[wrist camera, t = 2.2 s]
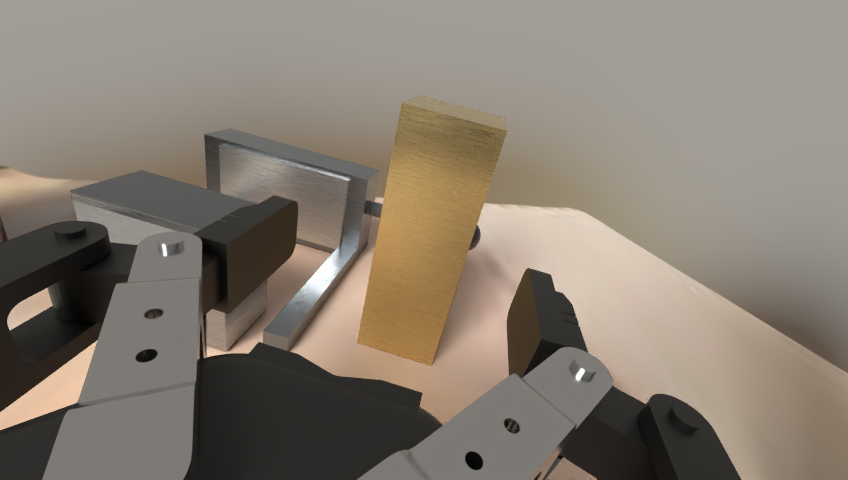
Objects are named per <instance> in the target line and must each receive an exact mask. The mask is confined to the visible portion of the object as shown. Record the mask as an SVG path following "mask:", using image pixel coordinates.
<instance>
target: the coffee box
mask: <svg viewBox="0 0 848 480" xmlns="http://www.w3.org/2000/svg"><path fill="white" fill-rule="evenodd" d="M6 241H8V239H7V236H6V233H5V230H4V227H3V224H2V220H1V217H0V244H1V243H3V242H6Z"/></svg>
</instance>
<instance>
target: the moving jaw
mask: <svg viewBox="0 0 848 480" xmlns="http://www.w3.org/2000/svg"><path fill="white" fill-rule="evenodd" d="M70 192H71V196H72V200H73V205H74V209H75V213H76V217H77V221H90V222H95V223H99V224H102V225H104V226H105V227H106V228H107V229H108V234H109V239H110V242H112V243H122V244H133V245H138V244H139V242H140V241H141V240H143V239H144V238H146V237H148V236H151V235H154V234H158V233H163V232H185V233H190V234H193V233H195V232H197V231H199V230H201V229H202V228H204V227H206V226H208V225H210V224H212V223H213V222H215V221H217V220H220V219H221V218H223V217H224V216H226V215H229V214H230V213H232V212H234V211H235V210H237V209H239V208H241V207H246V206H250V205H254V204H256V203H253V202H249V201H246V200H243V199H239V198H236V197H232V196H229V195H225V194H222V193H218V192H215V191H212V190H208V189H205V188H201V187H198V186H194V185H191V184H187V183H184V182H180V181H177V180H173V179H170V178H167V177H163V176H160V175H156V174H152V173H149V172H146V171H142V170H141V171H138V172H134V173H130V174H127V175H123V176H120V177H116V178H113V179H109V180H106V181H102V182H99V183H95V184H92V185H88V186H84V187H81V188H77V189H74V190H70ZM266 296H267V279H266V280H265V281H264V282H263V283H262V284H261V285H260V286H259V287H257V288H256V289H255V290H254V291H253V292H252V293H251V294H250V295H249V296H248V297H247V298H245V299H244V300H243V301H242V302H241V303H240V304H239V305H238V306H237V307H236V308H235V309H234V310H232V311H231V312H230V313H229V314H226V313H223V312H220V311H217V310H214V309H211V310H210V311H209V312H208V313H207V345H208V346H211V347H214V348H218V349H221V350H224V351H227V350H228V349H229V348H230V347H231V346H232V345H233V344H234V343H235V342H236V341H237V339H238V338H239V337H240V336H241V335H242V334H243V333H244V332H245V331H246V330H247V329H248V328H249V327H250V326H251V325H252V324H253V323H254V322H255V321H256V320H257V319H258V318H259V316H260V315H261V314H262V313H263V312H264V311H265V310H266Z"/></svg>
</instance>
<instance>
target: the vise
mask: <svg viewBox="0 0 848 480" xmlns="http://www.w3.org/2000/svg"><path fill="white" fill-rule="evenodd" d="M204 135H205V136H204V137H205V157H206V176H207V189H208V190H212V191H215V192H218V193H222V194H225V195H229V196H232V197H236V198H239V199H243V200H246V201H249V202H253V203H256V204H259V203H261V202H263V201H264V200H266V199H268V198H270V197H271V196H273V195H276V196H280V197H283V198H287V199H290V200H294V201H296V202H297V203H298V222H297V236H296V243H299V244H302V245H306V246H309V247H312V248H316V249H319V250H323V251H326V252H329V253H332V254H331V255H330V257H329V258H328V259H327V260H326V261H325V262H324V263H323V264H322V266H321V267H320V268H319V269H318V270H317V271H316V272H315V273H314V275H313V276H312V277H311V278H310V279H309V280H308V281H307V282H306V284H305V285H304V286H303V287H302V288H301V289H300V290H299V291H298V292H297V294H296V295H295V296H294V297H293V298H292V299H291V300H290V301H289V303H288V304H287V305H286V306H285V307H284V308H283V309H282V310H281V312H280V313H279V314H278V315H277V316H276V317H275V318H274V319H273V321H272V322H271V323H270V324H269V325H268V326H267V327H266V328H265V330H264V331H263V343H264V344H267V345H270V346H273V347H276V348H280V349H283V350H286V351H289V350H290V348H291V347H292V345H293V344H294V343H295V341H296V340H297V339H298V337H299V336H300V335H301V333H302V332H303V331H304V329H305V328H306V327H307V325H308V324H309V322H310V321H311V320H312V318H313V317H314V316H315V314H316V313H317V312H318V310H319V309H320V308H321V306H322V305H323V303H324V302H325V301H326V299H327V298H328V297H329V295H330V294H331V293H332V291H333V290H334V289H335V287H336V286H337V284H338V283H339V282H340V280H341V279H342V278H343V276H344V275H345V274H346V272H347V271H348V270H349V268H350V267H351V265H352V264H353V263H354V261H355V260H356V259H357V257H358V256H359V255H360V253H361V252H362V251H363V249H364V248H365V246H366V245H367V241H368V235H369V230H370V224H371V218H372V216H374V217H378V218H380V217H381V212H382V206H383V204H379V203H376V202H374V201H375V195H376V188H377V184H378V178H379V171H380V170H377V169H374V168H370V167H367V166H363V165H360V164H356V163H352V162H349V161H345V160H342V159H338V158H334V157H331V156H327V155H324V154H320V153H316V152H313V151H309V150H306V149H302V148H298V147H295V146H291V145H288V144H284V143H280V142H277V141H273V140H270V139H266V138H262V137H259V136H255V135H252V134H248V133H244V132H241V131H237V130H233V129H226V130H221V131H217V132H212V133H208V134H204ZM480 236H481V235H480V229H479V227H478V225H477V226H476V229H475V232H474V235H473V238H472V241H471V244H470V247H469V250H471V249H473V248H474V247H476V245H477V244H478V243H479V240H480Z"/></svg>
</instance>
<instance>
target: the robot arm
mask: <svg viewBox="0 0 848 480" xmlns="http://www.w3.org/2000/svg"><path fill="white" fill-rule="evenodd" d="M297 222H298V203H297V202H296V201H294V200H290V199H287V198H283V197H280V196H276V195H273V196H271V197H270V198H268V199H266V200H264V201H263V202H261V203H259V204H254V205H250V206H246V207H241V208H239V209H237V210H235V211H234V212H232V213H230V214H229V215H226V216H224V217H223V218H221V219H220V220H217V221H215V222H213V223H212V224H210V225H208V226H206V227H204V228H202V229H201V230H199V231H197V232H195V233H193V234H190V233H185V232H163V233H158V234H154V235H151V236H148V237H146V238H144V239H143V240H141V241H140V242H139V244H138V245H133V244H122V243H112V242H110V239H109V234H108V229H107V228H106V227H105V226H104V225H102V224H99V223H95V222H90V221H68V222H60V223H55V224H51V225H48V226H45V227H42V228H40V229H37V230H34V231H32V232H29V233H27V234H24V235H21V236H19V237H16V238H14V239H11V240H8V241H6V242H3V243H1V244H0V412H1V411H2V410H4V409H5V408H6V407H8V406H9V405H10V404H12V403H13V402H14V401H16V400H17V399H18V398H20V397H21V396H23V395H24V394H25V393H27V392H28V391H29V390H31V389H32V388H33V387H35V386H36V385H37V384H39V383H40V382H41V381H43V380H44V379H45V378H47V377H48V376H49V375H51V374H52V373H54V372H55V371H56V370H58V369H59V368H60V367H62V366H63V365H64V364H66V363H67V362H68V361H70V360H71V359H72V358H74V357H75V356H76V355H78V354H79V353H80V352H82V351H83V350H85V349H86V348H87V347H89V346H90V345H91V344H93V343H94V342H95V341H97V340H98V341H97V344H96V347H95V351H94V354H93V357H92V360H91V363H90V366H89V369H88V372H87V376H86V379H85V382H84V385H83V388H82V391H81V394H80V397H79V400H78V402H77V403H76V404H73V405H70V406H67V407H65V408H62V409H59V410H56V411H53V412H51V413H48V414H45V415H42V416H39V417H37V418H34V419H31V420H28V421H25V422H23V423H20V424H17V425H14V426H12V427H9V428H6V429H3V430H0V480H547V479H548V478H549V477H550V476H551V474H552V473H553V472H554V471H555V469H556V468H557V467H558V466H559V464H560V463H561V462H562V461H563V459H564V458H566V459H567V460H569V461H570V462H572V463H574V464H575V465H577V466H578V467H580V468H581V469H583V470H585V471H586V472H588V473H589V474H591V475H593V476H594V477H596V478H597V480H741V478H740V476H739V475H738V473H737V471H736V469H735V467H734V466H733V464H732V462H731V460H730V458H729V456H728V455H727V453H726V451H725V449H724V447H723V445H722V444H721V442H720V440H719V438H718V436H717V435H716V433H715V431H714V429H713V428H712V426H711V425H710V424H709V422H708V421H707V420H706V419H705V418H704V417H703V416H702V415H701V414H700V413H699V412H697V411H696V410H695V409H694V408H692V407H691V406H689V405H688V404H686V403H685V402H683V401H681V400H679V399H677V398H675V397H672V396H669V395H665V394H655V395H653V396H652V397H651V398H650V399H649V401H648V402H647V403H646V404H644V403H643V402H641V401H639V400H637V399H635V398H633V397H631V396H629V395H627V394H626V393H624V392H622V391H620V390H618V389H617V388H615V387H614V386H612V384H613V381H612V377H611V374H610V372H609V371H608V369H607V368H606V367H605V366H604V365H603V364H602V363H601V362H600V361H599V360H598V359H597V358H595V357H594V356H592V355H591V354H589V353H588V351H587V348H586V345H585V342H584V339H583V336H582V333H581V330H580V327H579V326H578V325H579V324H578V321H577V318H576V317H575V316H576V315H575V311H574V308H573V305H572V304H571V302H570V301H569V300H568V299H567V298H566V296H565V295H564V294H563V293H560V292H557V291H555V288H554V284H553V281H552V277H551V275H550V274H547V273H543V272H540V271H536V270H533V269H529V268H528V269H526V271H525V273H524V275H523V277H522V279H521V282H520V284H519V287H518V289H517V291H516V294H515V296H514V299H513V301H512V303H511V306H510V309H509V312H508V317H507V339H508V361H509V377H507V378H506V379H505V380H503V381H502V382H501V383H499V384H498V385H497V386H495V387H494V388H493V389H491V390H490V391H489V392H487V393H486V394H485V395H483V396H482V397H480V398H479V399H478V400H476V401H475V402H474V403H472V404H471V405H470V406H468V407H467V408H466V409H464V410H463V411H462V412H460V413H459V414H458V415H456V416H455V417H454V418H452V419H451V420H450V421H448V422H447V423H446V424H444V425H442V424H441V423H440V422H439V421H438V420H437V419H436V418H435V417H434V416H432V415H431V414H430V413H428V412H427V411H425V410H424V409H422V408H421V407H419V406H420V401H421V397H422V393H421V392H417V391H414V390H411V389H408V388H405V387H401V386H398V385H395V384H392V383H389V382H385V381H382V380H373V379H362V378H351V377H340V376H335V375H333V374H331V373H329V372H327V371H326V370H324V369H322V368H320V367H319V366H317V365H315V364H314V363H312V362H310V361H309V360H307V359H305V358H304V357H302V356H300V355H299V354H296V353H292V352H289V351H286V350H283V349H280V348H276V347H273V346H270V345H267V344H264V343H260V342H258V344H257V345H256V346H255V347H254V348H253V349H252V351H251V352H250V353H249V354H244V353H241V354H223V355H217V356H211V357H207V313H208V312H209V311H210V310H211V309H214V310H217V311H220V312H223V313H226V314H229V313H230V312H231V311H232V310H234V309H235V308H236V307H237V306H238V305H239V304H240V303H241V302H242V301H243V300H244V299H245V298H247V297H248V296H249V295H250V294H251V293H252V292H253V291H254V290H255V289H256V288H257V287H259V286H260V285H261V284H262V283H263V282H264V281H265V280H266V279H267V278H268V277H269V276H270V275H272V274H273V273H274V272H275V271H276V270H277V269H278V268H279V267H280V266H281V265H282V264H284V263H285V262H286V261H287V260H288V259H289V258H290V257H291V255H292V253H293V251H294V248H295V245H296V236H297ZM45 288H48V291H49V294H50V298H51V301H52V304H53V306H52V307H50V308H48V309H47V310H45V311H43V312H41V313H40V314H38V315H36V316H34V317H33V318H31V319H29V320H28V321H26V322H24V323H22V324H21V325H19V326H17V327H16V328H14V329H12V330H9V328H8V325H7V318H8V315H9V313H10V311H11V310H12V309H13V308H14V307H15V306H16V305H17V304H18V303H19V302H21V301H23V300H25V299H27V298H28V297H30V296H32V295H34V294H36V293H38V292H40V291H42V290H44V289H45Z"/></svg>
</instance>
